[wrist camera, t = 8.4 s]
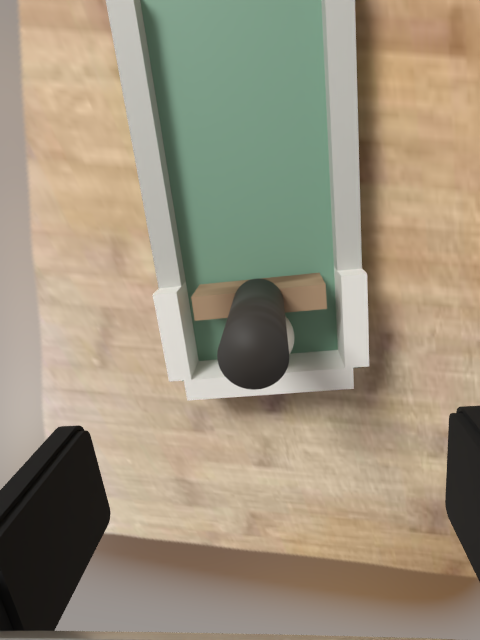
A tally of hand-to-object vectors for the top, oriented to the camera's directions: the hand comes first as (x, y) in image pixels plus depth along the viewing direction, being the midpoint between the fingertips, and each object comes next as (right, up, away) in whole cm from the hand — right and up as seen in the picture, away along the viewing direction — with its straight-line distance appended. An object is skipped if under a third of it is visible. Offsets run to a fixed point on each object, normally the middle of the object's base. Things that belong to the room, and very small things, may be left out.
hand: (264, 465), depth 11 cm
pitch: (0, +11, +17) cm, 20 cm away
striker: (+1, +6, +17) cm, 18 cm away
